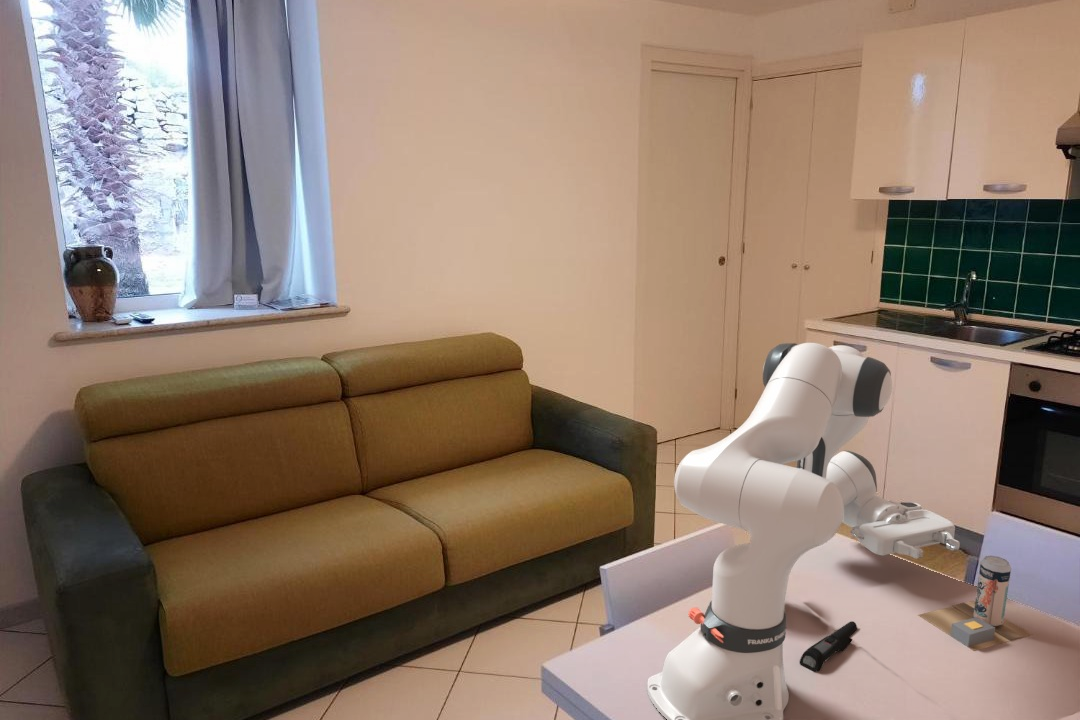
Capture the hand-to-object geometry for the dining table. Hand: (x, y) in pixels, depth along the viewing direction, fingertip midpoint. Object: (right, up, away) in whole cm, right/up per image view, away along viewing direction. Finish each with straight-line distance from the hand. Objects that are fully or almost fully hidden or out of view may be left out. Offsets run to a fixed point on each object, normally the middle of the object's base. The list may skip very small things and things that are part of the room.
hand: (938, 550), depth 147 cm
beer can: (+4, -11, -9) cm, 15 cm away
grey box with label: (-2, -12, -14) cm, 18 cm away
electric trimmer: (-27, -14, -15) cm, 34 cm away
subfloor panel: (+1, -12, -10) cm, 16 cm away
